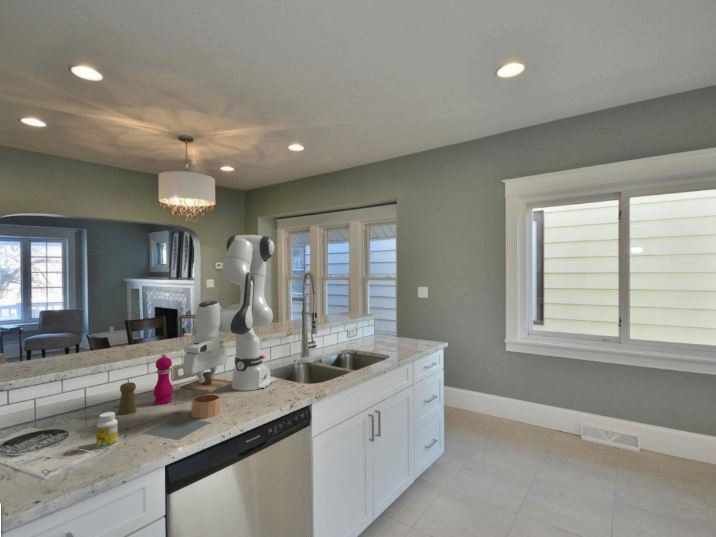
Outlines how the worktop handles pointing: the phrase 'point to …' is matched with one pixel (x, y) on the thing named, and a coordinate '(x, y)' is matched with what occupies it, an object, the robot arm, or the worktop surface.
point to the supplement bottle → (106, 430)
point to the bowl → (206, 406)
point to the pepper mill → (163, 381)
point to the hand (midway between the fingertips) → (206, 380)
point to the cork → (127, 399)
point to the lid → (206, 384)
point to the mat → (176, 428)
